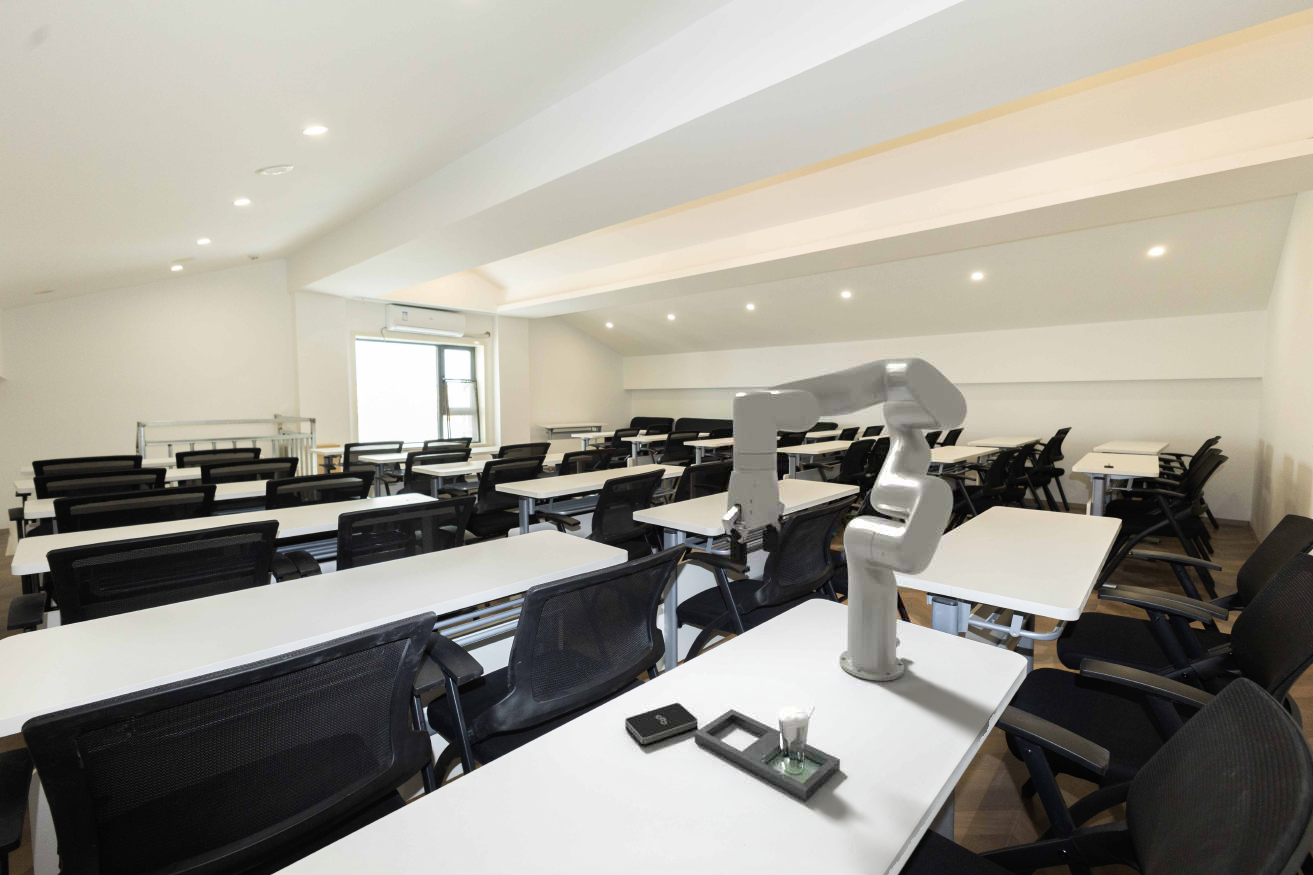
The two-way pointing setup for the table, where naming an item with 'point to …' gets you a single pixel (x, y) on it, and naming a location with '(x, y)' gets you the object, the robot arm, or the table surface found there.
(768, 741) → the two-slot gray tray
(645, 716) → the external hard drive
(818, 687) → the table surface
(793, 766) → the milkshake
